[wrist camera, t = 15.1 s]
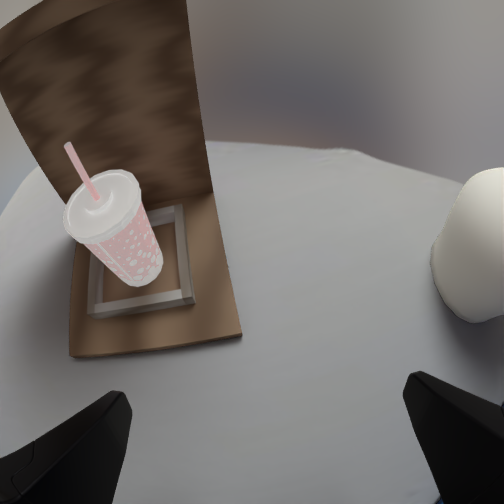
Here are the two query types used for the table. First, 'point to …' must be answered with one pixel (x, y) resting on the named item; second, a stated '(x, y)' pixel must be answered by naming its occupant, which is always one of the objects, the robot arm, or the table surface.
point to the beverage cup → (113, 223)
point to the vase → (473, 250)
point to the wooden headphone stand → (125, 161)
